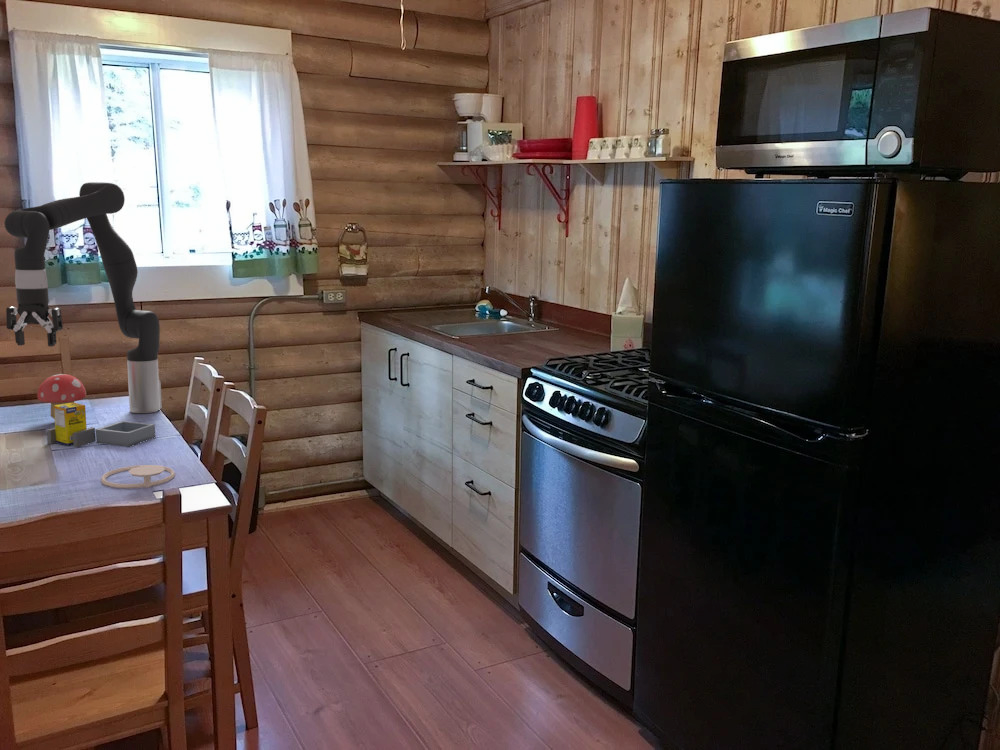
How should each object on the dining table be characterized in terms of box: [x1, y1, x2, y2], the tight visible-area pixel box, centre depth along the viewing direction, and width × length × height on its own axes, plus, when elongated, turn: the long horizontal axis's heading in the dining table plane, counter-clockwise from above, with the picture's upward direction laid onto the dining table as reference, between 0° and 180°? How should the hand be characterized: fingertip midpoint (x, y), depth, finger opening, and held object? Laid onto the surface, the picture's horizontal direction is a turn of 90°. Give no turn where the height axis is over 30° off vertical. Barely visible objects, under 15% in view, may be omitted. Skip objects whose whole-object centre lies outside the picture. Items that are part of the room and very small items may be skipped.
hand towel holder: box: [100, 464, 176, 490], centre depth 202 cm, size 17×4×21 cm
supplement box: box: [53, 401, 88, 447], centre depth 232 cm, size 6×6×11 cm
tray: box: [95, 420, 156, 448], centre depth 236 cm, size 11×11×4 cm
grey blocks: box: [46, 427, 96, 448], centre depth 232 cm, size 7×10×4 cm
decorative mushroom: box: [36, 373, 87, 419], centre depth 253 cm, size 13×13×15 cm
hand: (36, 345), depth 225 cm, fingers open, 8 cm apart
